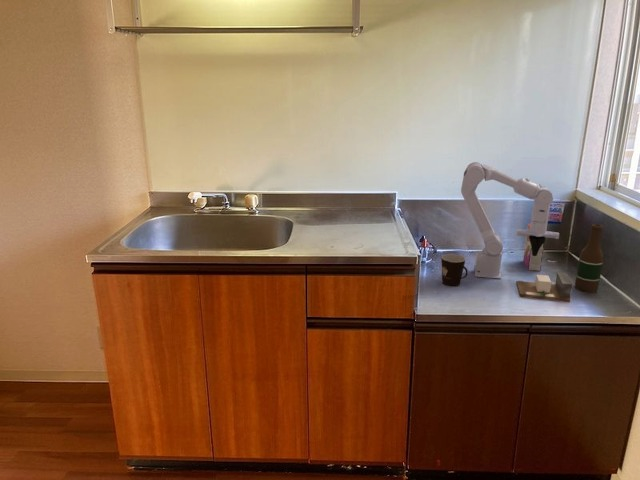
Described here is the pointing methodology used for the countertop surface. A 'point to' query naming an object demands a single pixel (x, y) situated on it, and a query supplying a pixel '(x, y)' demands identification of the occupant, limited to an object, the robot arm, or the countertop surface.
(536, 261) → the candy bar box
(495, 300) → the countertop surface
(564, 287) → the frame
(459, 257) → the coffee mug
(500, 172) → the robot arm
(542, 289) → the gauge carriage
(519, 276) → the countertop surface
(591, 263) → the beer bottle
